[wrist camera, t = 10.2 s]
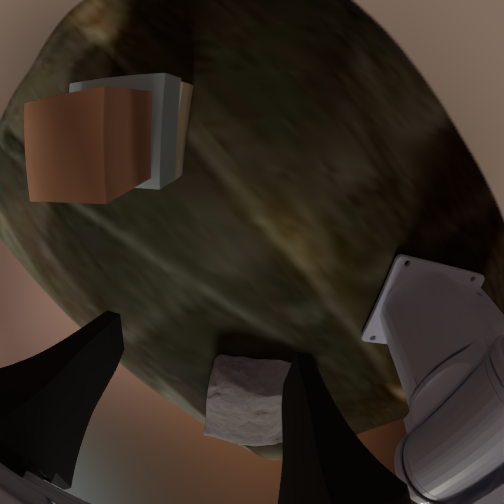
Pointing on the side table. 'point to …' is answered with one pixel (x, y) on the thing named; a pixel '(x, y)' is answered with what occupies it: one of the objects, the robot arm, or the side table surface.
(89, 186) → the terracotta cube
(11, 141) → the side table surface
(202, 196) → the side table surface
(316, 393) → the robot arm
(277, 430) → the stone block
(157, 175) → the top block
